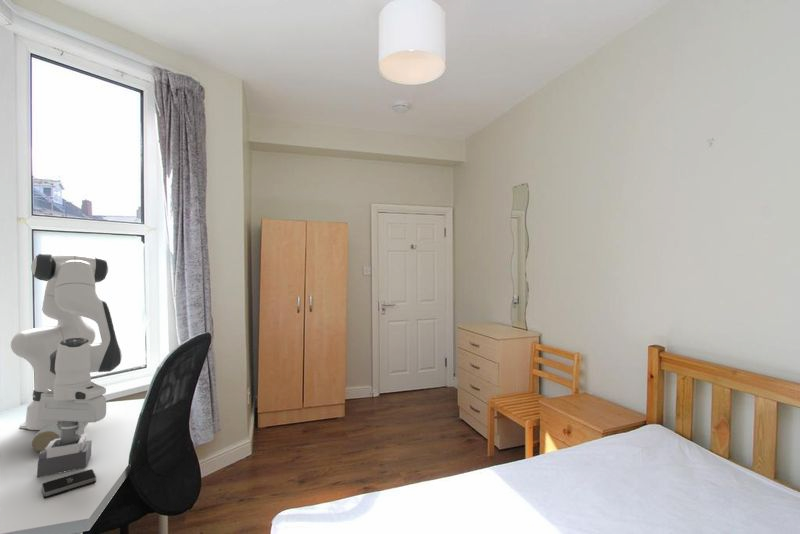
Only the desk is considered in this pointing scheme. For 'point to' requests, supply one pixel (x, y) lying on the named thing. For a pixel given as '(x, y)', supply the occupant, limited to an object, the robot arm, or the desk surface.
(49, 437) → the ceramic mug
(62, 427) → the lens
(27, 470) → the desk surface
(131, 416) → the desk surface
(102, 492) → the desk surface
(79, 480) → the external hard drive
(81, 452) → the camera body
